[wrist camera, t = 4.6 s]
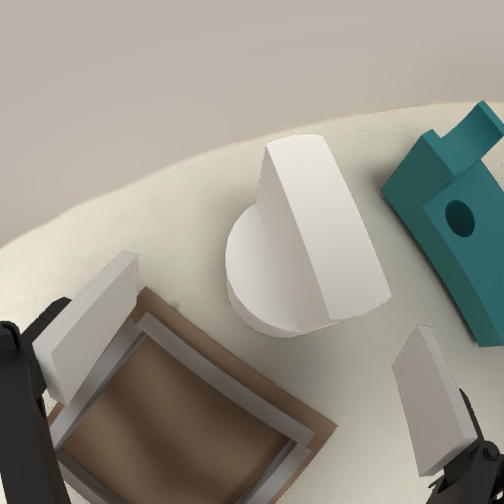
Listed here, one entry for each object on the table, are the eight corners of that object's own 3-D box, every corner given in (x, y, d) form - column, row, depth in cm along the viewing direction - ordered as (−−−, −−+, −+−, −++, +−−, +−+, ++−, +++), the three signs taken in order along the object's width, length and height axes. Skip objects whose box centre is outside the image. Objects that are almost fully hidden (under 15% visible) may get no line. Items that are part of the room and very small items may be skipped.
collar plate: (148, 288, 24) (138, 279, 21) (334, 423, 21) (347, 430, 19) (34, 441, 19) (17, 447, 16) (202, 566, 16) (200, 583, 13)
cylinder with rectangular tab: (353, 316, 24) (441, 281, 13) (245, 352, 23) (260, 350, 12) (316, 216, 27) (368, 126, 16) (213, 242, 26) (202, 153, 14)
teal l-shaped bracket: (375, 197, 29) (421, 135, 19) (437, 156, 30) (483, 100, 20) (471, 347, 25) (545, 341, 14) (520, 285, 26) (584, 261, 16)
